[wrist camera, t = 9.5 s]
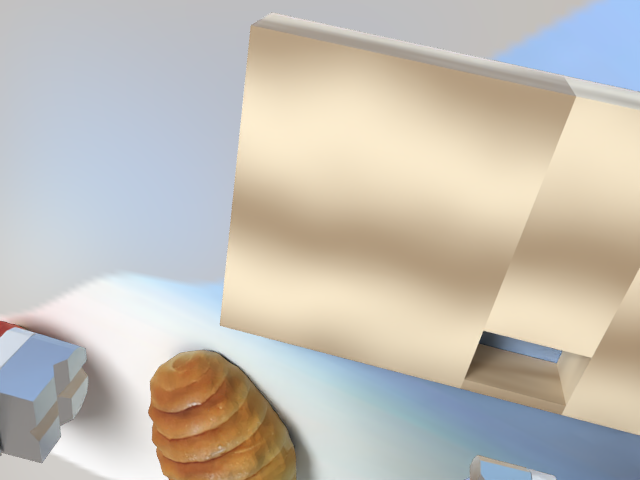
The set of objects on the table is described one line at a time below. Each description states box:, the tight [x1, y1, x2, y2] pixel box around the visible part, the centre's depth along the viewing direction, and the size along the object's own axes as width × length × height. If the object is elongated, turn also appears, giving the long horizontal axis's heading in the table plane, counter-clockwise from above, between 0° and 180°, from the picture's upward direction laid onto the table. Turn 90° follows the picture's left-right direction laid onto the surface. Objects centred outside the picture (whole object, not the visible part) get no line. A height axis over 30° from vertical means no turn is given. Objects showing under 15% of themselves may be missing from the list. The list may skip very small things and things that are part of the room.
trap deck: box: [220, 13, 640, 435], centre depth 20 cm, size 12×22×6 cm, turn 80°
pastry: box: [148, 350, 296, 480], centre depth 30 cm, size 9×7×4 cm
